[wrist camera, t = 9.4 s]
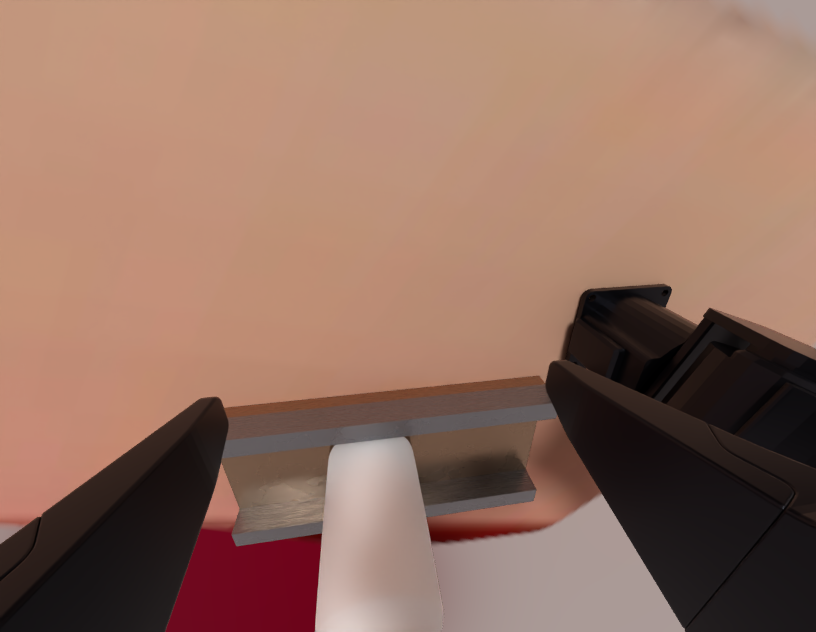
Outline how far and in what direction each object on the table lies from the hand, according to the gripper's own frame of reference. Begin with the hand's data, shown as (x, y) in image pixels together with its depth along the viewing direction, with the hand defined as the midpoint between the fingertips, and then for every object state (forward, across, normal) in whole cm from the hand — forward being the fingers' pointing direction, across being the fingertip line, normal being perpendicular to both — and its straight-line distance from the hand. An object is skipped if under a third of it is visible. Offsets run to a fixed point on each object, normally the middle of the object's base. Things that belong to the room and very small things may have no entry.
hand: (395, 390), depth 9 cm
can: (+11, +1, +15) cm, 19 cm away
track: (+12, 0, +16) cm, 20 cm away
